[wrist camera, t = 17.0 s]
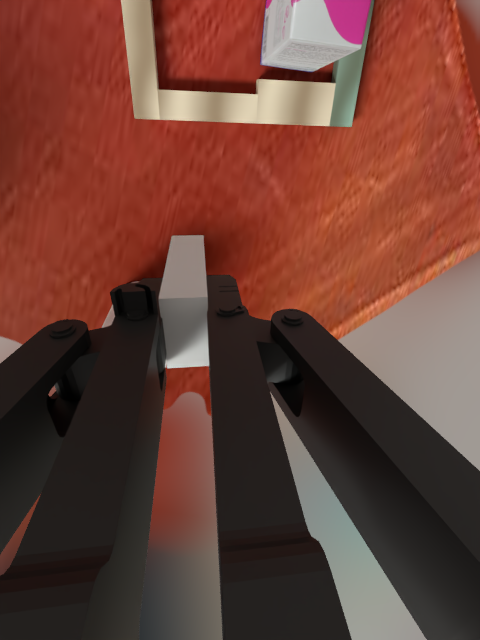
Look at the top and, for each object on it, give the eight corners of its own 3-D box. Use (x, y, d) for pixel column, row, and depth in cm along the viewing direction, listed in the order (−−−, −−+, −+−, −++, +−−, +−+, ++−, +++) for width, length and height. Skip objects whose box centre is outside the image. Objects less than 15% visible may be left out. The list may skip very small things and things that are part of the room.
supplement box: (314, 73, 34) (361, 52, 24) (259, 65, 33) (284, 40, 23) (327, -3, 31) (387, -62, 21) (266, -13, 30) (299, -80, 20)
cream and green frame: (137, 118, 34) (134, 118, 33) (112, -99, 26) (108, -110, 25) (346, 126, 36) (351, 126, 35) (380, -70, 29) (388, -79, 27)
